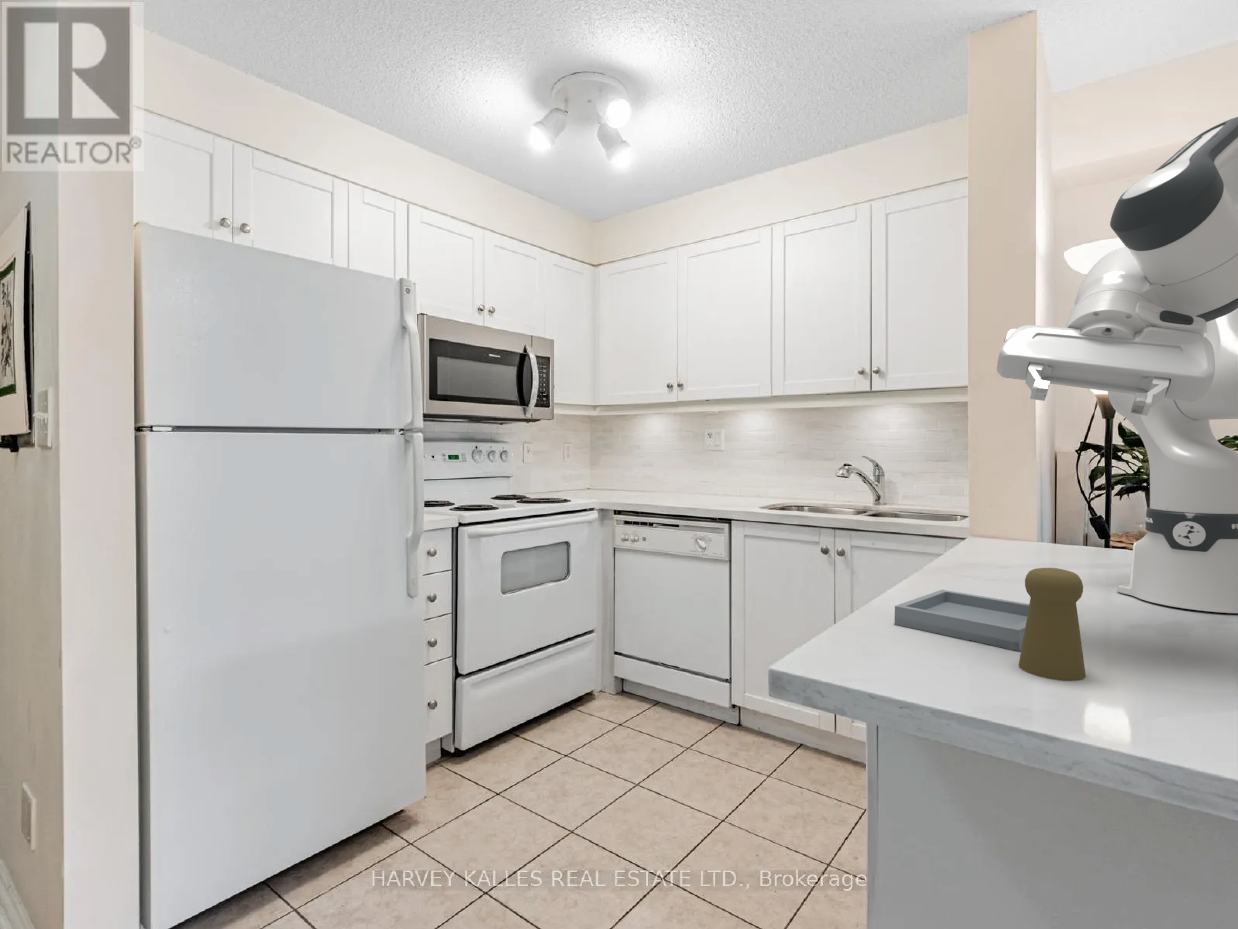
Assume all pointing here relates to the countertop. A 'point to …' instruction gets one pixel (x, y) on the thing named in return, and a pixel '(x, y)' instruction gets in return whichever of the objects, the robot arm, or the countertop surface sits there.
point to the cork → (1053, 625)
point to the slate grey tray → (966, 617)
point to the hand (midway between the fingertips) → (1087, 402)
